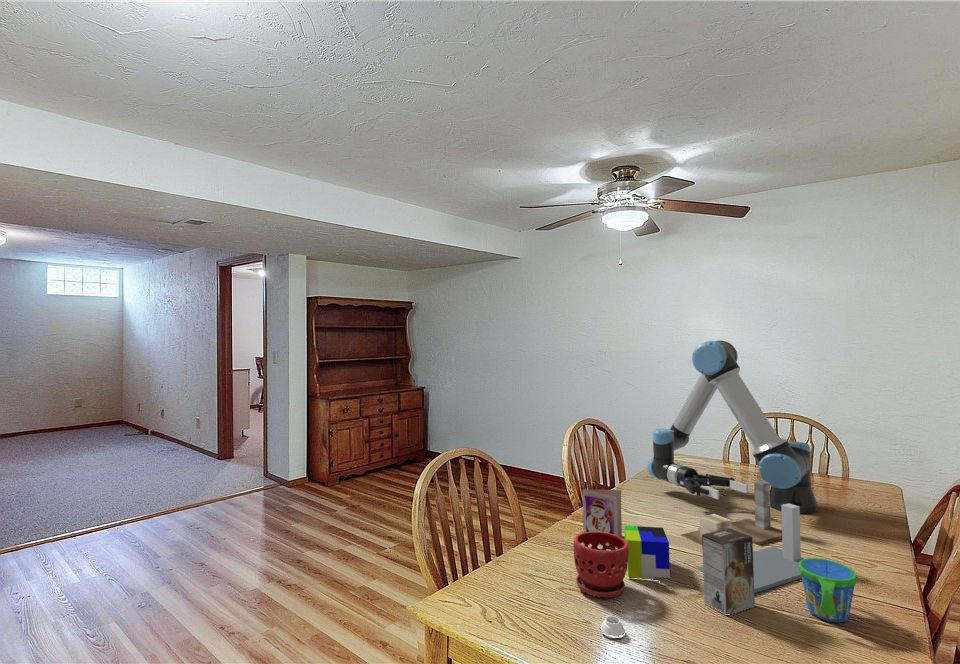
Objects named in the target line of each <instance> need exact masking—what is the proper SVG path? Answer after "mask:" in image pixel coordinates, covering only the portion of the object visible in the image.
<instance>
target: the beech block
mask: <svg viewBox="0 0 960 664" xmlns="http://www.w3.org/2000/svg"><path fill="white" fill-rule="evenodd" d="M731 522H732V520H731V519H729V518H726V517H724V516H721V515H718V514H716V513H712V514H707V515H704V516H703V515H702V516H699V530H700V537H701V538H702V534H706V533H711V532H715V531H719V530H723V529H727V528H730V529H731Z"/></svg>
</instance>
